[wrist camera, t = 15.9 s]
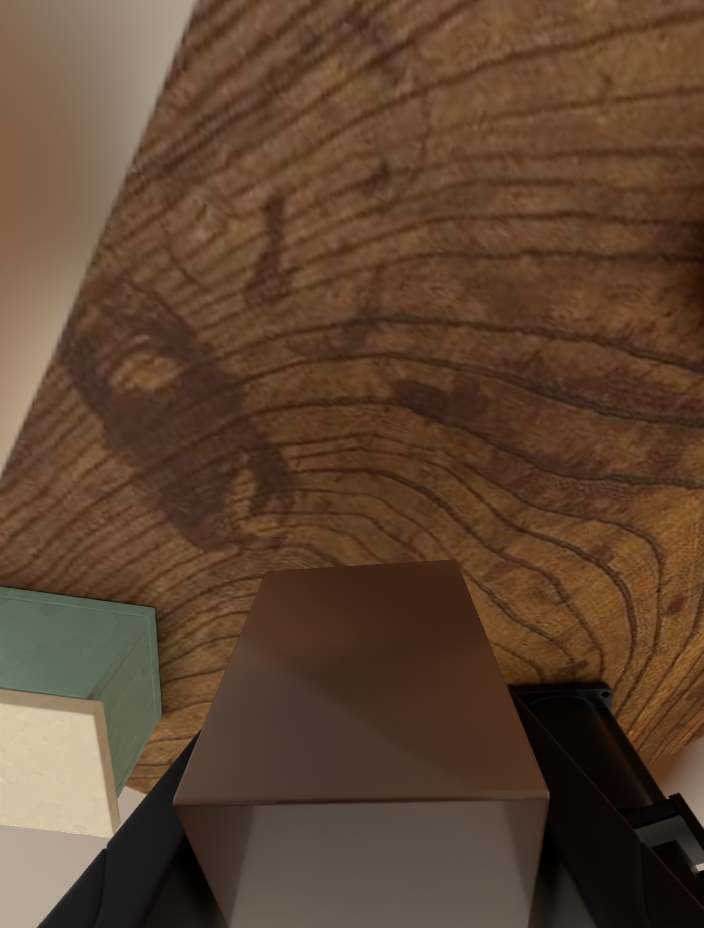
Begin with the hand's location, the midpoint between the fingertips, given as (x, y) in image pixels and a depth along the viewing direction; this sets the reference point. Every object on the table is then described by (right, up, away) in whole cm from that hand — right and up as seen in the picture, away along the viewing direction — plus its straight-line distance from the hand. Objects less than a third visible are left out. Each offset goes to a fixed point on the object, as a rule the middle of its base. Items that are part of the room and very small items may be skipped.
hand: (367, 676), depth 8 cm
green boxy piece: (-18, -8, +15) cm, 25 cm away
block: (0, 0, +1) cm, 1 cm away
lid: (-18, -10, +10) cm, 22 cm away
